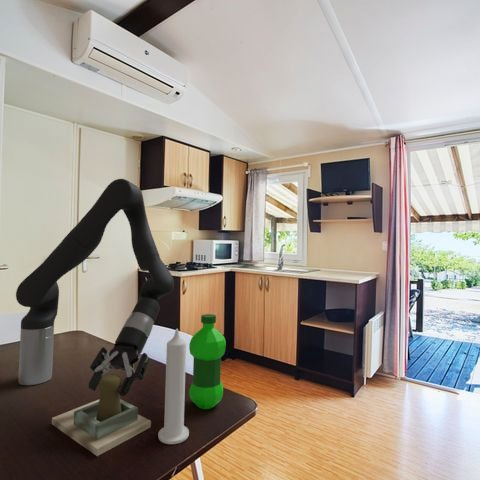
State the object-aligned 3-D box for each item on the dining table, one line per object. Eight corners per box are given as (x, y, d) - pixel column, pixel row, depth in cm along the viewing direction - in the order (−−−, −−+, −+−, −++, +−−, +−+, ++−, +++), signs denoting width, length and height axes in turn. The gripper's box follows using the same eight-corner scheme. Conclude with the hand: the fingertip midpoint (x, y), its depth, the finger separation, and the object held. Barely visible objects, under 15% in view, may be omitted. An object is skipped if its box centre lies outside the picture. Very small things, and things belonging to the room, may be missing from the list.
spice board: (51, 424, 79) (52, 405, 79) (104, 402, 91) (104, 386, 91) (97, 456, 68) (97, 434, 68) (150, 427, 79) (151, 408, 79)
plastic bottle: (217, 416, 85) (219, 321, 85) (180, 409, 88) (183, 317, 88) (229, 399, 94) (231, 314, 95) (196, 394, 97) (199, 311, 98)
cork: (112, 430, 74) (114, 382, 75) (89, 427, 76) (91, 379, 76) (126, 417, 80) (128, 372, 81) (105, 414, 82) (107, 370, 82)
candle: (160, 427, 79) (164, 324, 80) (189, 426, 80) (192, 325, 80) (155, 445, 72) (159, 332, 73) (187, 444, 73) (191, 332, 73)
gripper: (107, 323, 89) (73, 381, 77) (153, 327, 85) (125, 390, 74) (118, 337, 94) (88, 394, 82) (162, 342, 90) (137, 403, 79)
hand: (106, 392), depth 78 cm, fingers open, 8 cm apart
